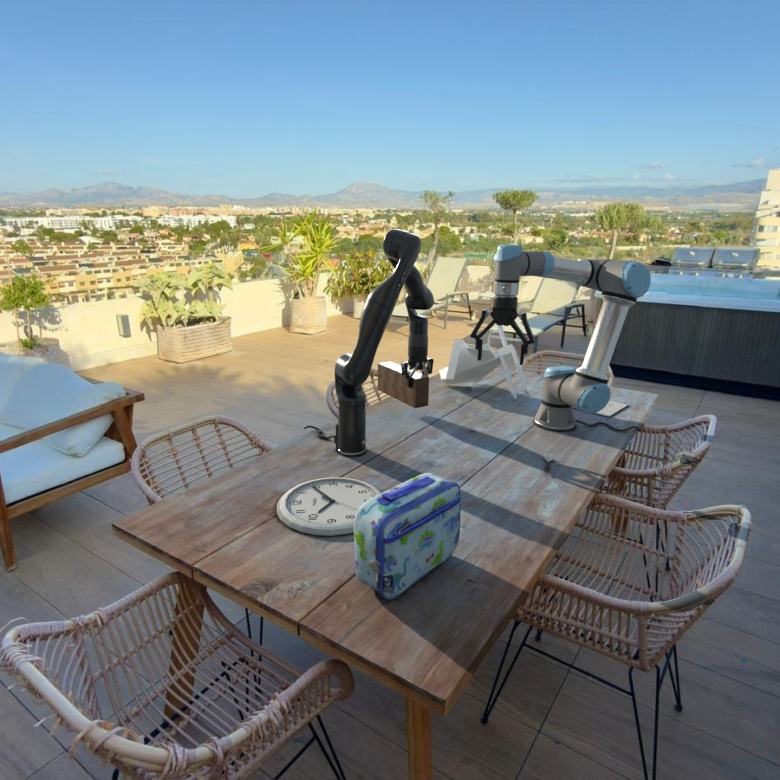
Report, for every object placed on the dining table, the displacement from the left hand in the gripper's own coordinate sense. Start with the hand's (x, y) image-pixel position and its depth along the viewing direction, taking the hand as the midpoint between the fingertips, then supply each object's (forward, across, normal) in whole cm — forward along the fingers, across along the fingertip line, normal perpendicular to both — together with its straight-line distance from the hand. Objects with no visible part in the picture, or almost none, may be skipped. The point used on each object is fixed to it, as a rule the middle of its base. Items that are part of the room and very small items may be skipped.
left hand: (416, 386), depth 202 cm
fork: (+14, +13, -55) cm, 59 cm away
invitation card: (+15, +79, -27) cm, 85 cm away
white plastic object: (+14, +47, +15) cm, 51 cm away
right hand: (-17, +5, -38) cm, 42 cm away
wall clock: (+14, -58, -42) cm, 73 cm away
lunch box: (+14, -57, -77) cm, 97 cm away
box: (+7, 0, +10) cm, 13 cm away
